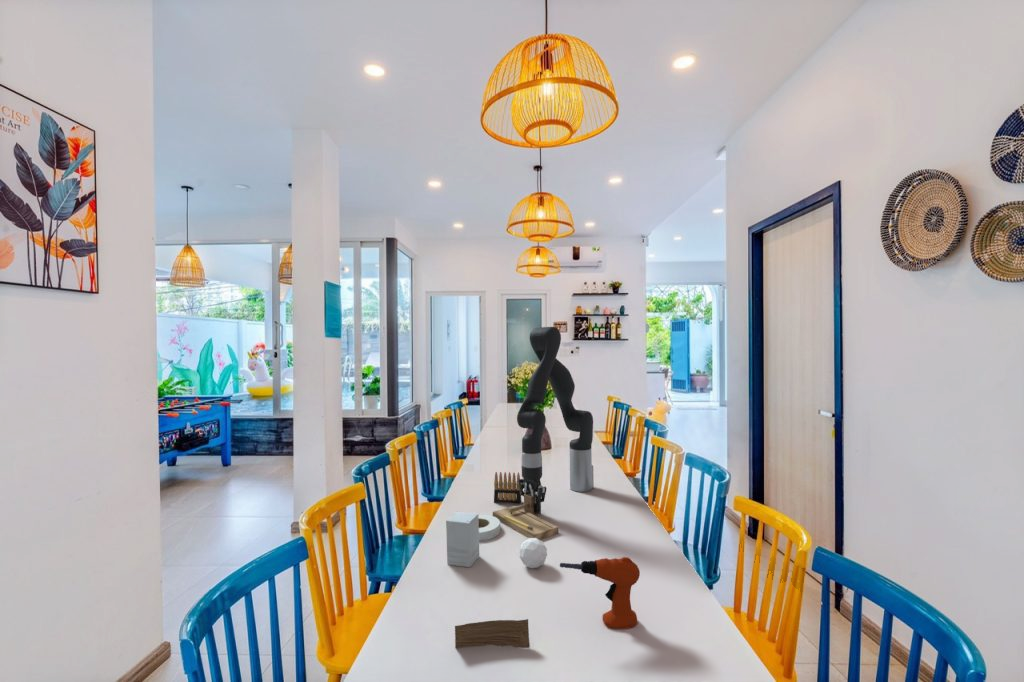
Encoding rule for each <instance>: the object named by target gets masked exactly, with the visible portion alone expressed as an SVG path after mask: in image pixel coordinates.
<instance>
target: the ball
mask: <svg viewBox="0 0 1024 682" xmlns="http://www.w3.org/2000/svg"><path fill="white" fill-rule="evenodd" d="M547 557H548V549H547V546H546V545H545V544H544V542H543V541H542V540H541V539H537V538H527V539H526V540H524V541H523V542H522V543H521V546H520V548H519V558H520V561H521V562H522V563H523V565H524V566H526V567H528V568H530V569H537V568H539V567H541V566H542V565H544V564H545V563H546V559H547Z"/></svg>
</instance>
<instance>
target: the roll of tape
mask: <svg viewBox="0 0 1024 682" xmlns="http://www.w3.org/2000/svg"><path fill="white" fill-rule="evenodd" d="M477 514H478V518H479V526H481V527H479V541H485V540H490V539H492V538H495V537H496V536H498V534H500V532H501V522H500V521H499V519H497V518H496V517H494V516H493V515H490V514H480V513H477Z"/></svg>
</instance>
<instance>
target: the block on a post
mask: <svg viewBox="0 0 1024 682" xmlns="http://www.w3.org/2000/svg"><path fill="white" fill-rule="evenodd" d="M534 494H537V492H536V493H534ZM537 497H538V496H536V499H537ZM515 506H516V505H515ZM521 509H523V510H525V511H527V512H529V513H531V514H533V515H535V516H537V517H538V516H540V515H542V502H541V503H540V512H539V513H536V514H535V513H534V499H533V497H532V496H531V493H528V494H524V496H523V504H519V505H517V506H516V507H513V508H509V512H511V514H512V512H514V511H517V510H521Z"/></svg>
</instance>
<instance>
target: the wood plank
mask: <svg viewBox="0 0 1024 682" xmlns="http://www.w3.org/2000/svg"><path fill="white" fill-rule="evenodd" d="M454 636H455V637H454V638H455V639H454V643H455V644H454V645H455V649H460V648H470V647H471V648H473V647H485V646H496V647H499V646H500V647H513V648H521V649H530V648H531V646H530V629H529V619H528V618H526V619H518V620H517V619H515V620H514V619H503V620H502V619H500V620H499V619H498V620H487V621H486V620H485V621H478V622H470V623H464V624H459V625H454Z"/></svg>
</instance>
